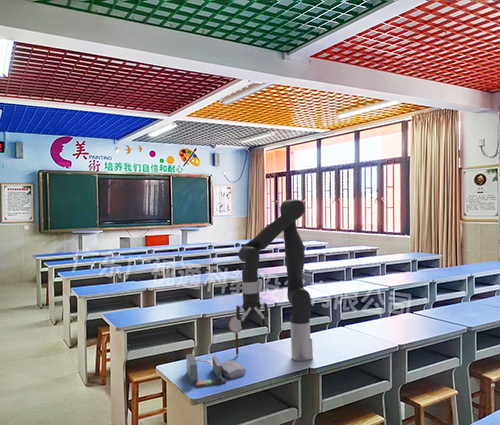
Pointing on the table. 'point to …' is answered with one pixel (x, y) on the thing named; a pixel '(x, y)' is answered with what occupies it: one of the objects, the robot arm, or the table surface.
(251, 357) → the table surface
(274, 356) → the table surface
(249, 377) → the table surface
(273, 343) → the table surface
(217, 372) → the thin grey slab
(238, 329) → the magnifying glass
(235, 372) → the stone block
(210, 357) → the scissors
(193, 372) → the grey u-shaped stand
